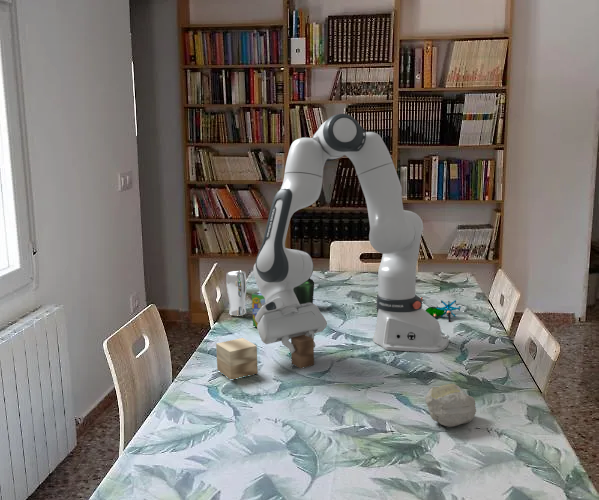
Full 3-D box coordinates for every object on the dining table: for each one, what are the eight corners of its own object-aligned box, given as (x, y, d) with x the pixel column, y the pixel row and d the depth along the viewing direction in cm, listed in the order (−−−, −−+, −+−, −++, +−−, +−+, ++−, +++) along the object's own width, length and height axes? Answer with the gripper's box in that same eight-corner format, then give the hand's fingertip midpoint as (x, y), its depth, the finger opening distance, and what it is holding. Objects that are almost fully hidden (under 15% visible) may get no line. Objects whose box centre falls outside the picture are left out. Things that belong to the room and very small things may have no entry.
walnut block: (305, 360, 188) (304, 334, 187) (314, 364, 185) (313, 339, 183) (291, 363, 186) (290, 337, 184) (300, 368, 182) (299, 342, 181)
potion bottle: (312, 312, 234) (311, 262, 230) (289, 311, 235) (288, 261, 232) (316, 306, 241) (315, 257, 238) (294, 305, 243) (293, 257, 240)
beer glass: (246, 317, 230) (244, 275, 227) (226, 317, 230) (224, 275, 227) (248, 311, 237) (246, 270, 234) (228, 312, 237) (227, 270, 234)
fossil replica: (485, 419, 150) (445, 412, 156) (485, 383, 149) (444, 377, 155) (461, 436, 141) (419, 426, 147) (460, 397, 140) (418, 389, 146)
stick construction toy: (462, 309, 226) (456, 295, 221) (465, 325, 221) (459, 311, 216) (428, 316, 230) (421, 303, 225) (429, 333, 225) (422, 319, 220)
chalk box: (273, 332, 213) (272, 287, 210) (251, 327, 219) (250, 283, 216) (291, 325, 220) (290, 281, 217) (269, 320, 226) (268, 278, 223)
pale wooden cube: (243, 365, 185) (242, 337, 184) (257, 374, 179) (256, 345, 177) (217, 371, 181) (216, 343, 180) (230, 381, 175) (229, 351, 173)
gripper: (310, 307, 198) (330, 347, 192) (249, 319, 187) (268, 362, 181) (318, 295, 193) (339, 336, 187) (256, 307, 182) (276, 351, 176)
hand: (303, 349), depth 184 cm, fingers closed on walnut block, 4 cm apart
